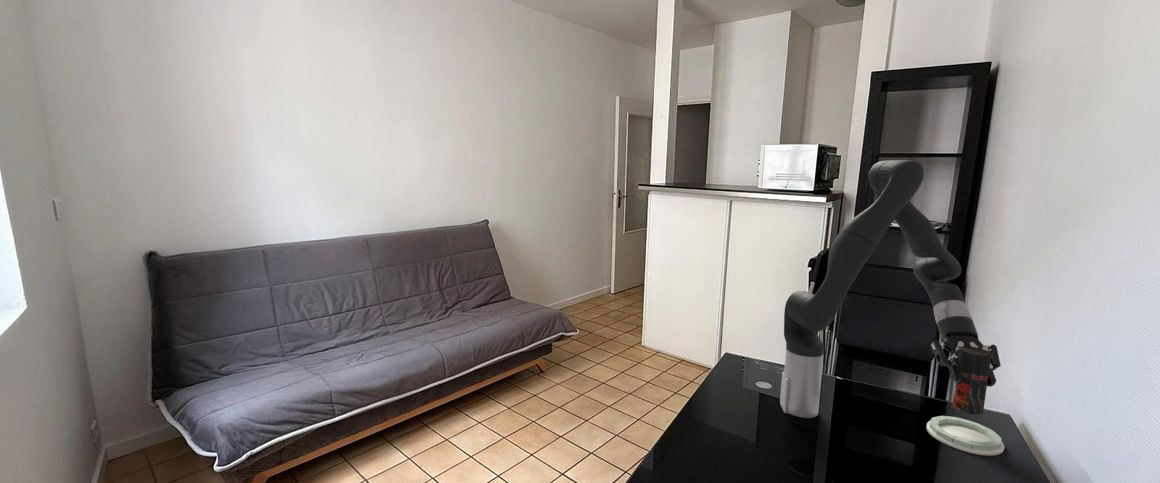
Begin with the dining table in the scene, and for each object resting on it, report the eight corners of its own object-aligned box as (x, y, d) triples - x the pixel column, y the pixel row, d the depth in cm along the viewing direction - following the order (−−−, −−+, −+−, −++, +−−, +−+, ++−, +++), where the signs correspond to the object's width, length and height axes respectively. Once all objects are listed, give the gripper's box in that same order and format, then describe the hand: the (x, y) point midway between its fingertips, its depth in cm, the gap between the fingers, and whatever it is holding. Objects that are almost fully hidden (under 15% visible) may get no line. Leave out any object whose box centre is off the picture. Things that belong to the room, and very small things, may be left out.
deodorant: (989, 415, 112) (997, 356, 109) (960, 413, 113) (968, 354, 110) (973, 403, 117) (981, 347, 115) (946, 401, 118) (954, 345, 116)
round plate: (945, 450, 110) (946, 442, 110) (915, 418, 125) (916, 411, 124) (1019, 459, 107) (1021, 451, 107) (980, 425, 122) (981, 418, 121)
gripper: (929, 312, 121) (948, 375, 111) (994, 316, 117) (1019, 381, 108) (917, 325, 126) (934, 386, 117) (978, 330, 123) (1001, 392, 114)
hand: (975, 383), depth 112 cm, fingers closed on deodorant, 6 cm apart
